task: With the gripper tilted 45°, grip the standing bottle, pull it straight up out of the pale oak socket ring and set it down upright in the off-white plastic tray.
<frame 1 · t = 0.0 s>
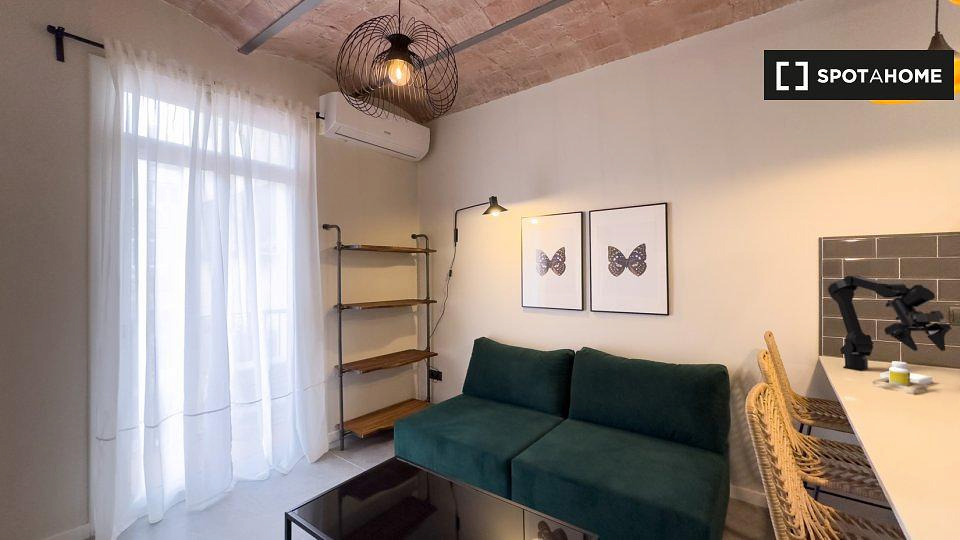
hand: (929, 350, 143), 15 cm above the table, tool tilted 35°, fingers open, 9 cm apart
plastic tray: (905, 381, 155), on the table
supplement bottle: (899, 388, 147), resting in oak socket ring
oak socket ring: (899, 388, 147), on the table
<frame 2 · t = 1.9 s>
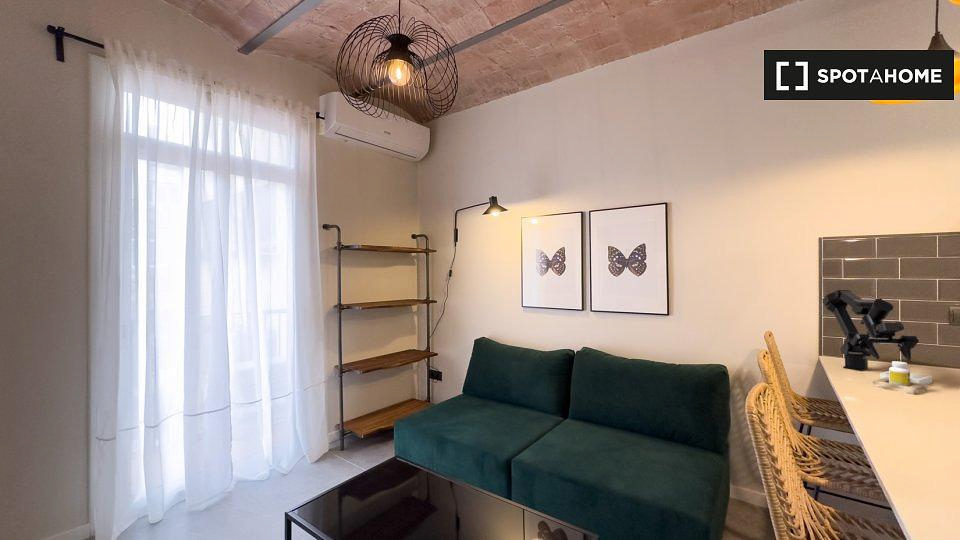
hand: (894, 359, 150), 10 cm above the table, tool tilted 45°, fingers open, 9 cm apart
nothing on the table moved.
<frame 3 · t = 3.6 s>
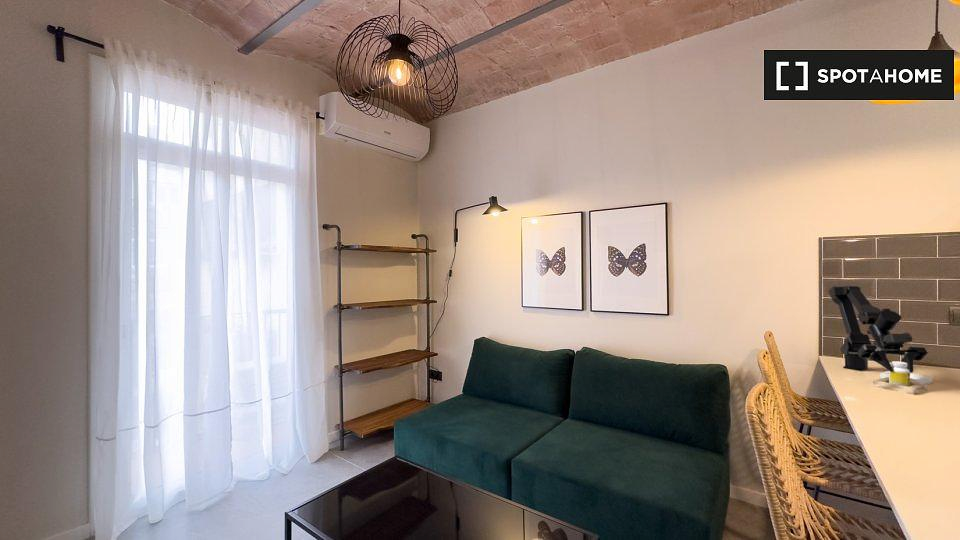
hand: (901, 371, 145), 7 cm above the table, tool tilted 45°, fingers closed on supplement bottle, 5 cm apart
supplement bottle: (899, 388, 147), resting in oak socket ring, touching gripper
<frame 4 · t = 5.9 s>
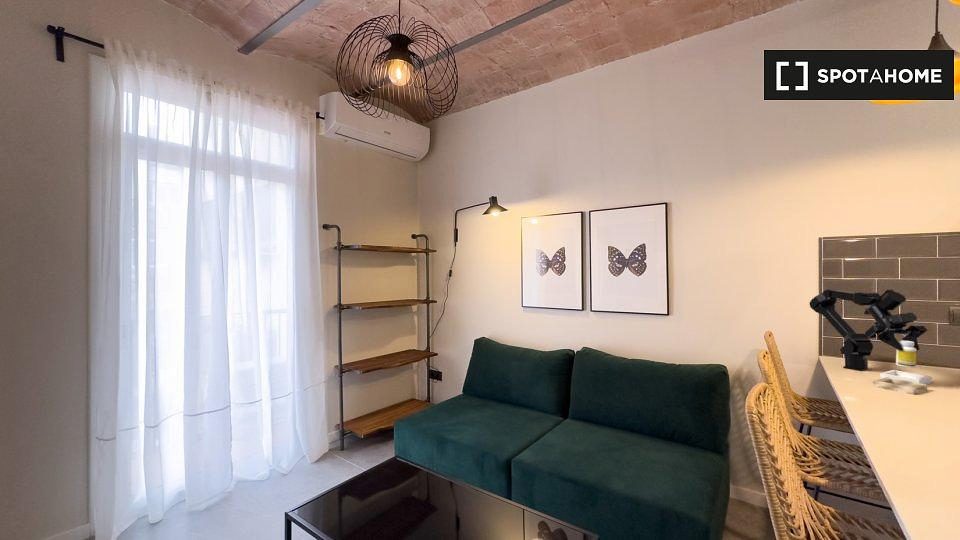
hand: (909, 350, 150), 13 cm above the table, tool tilted 45°, fingers closed on supplement bottle, 5 cm apart
supplement bottle: (905, 366, 152), point 7 cm above the table, touching gripper
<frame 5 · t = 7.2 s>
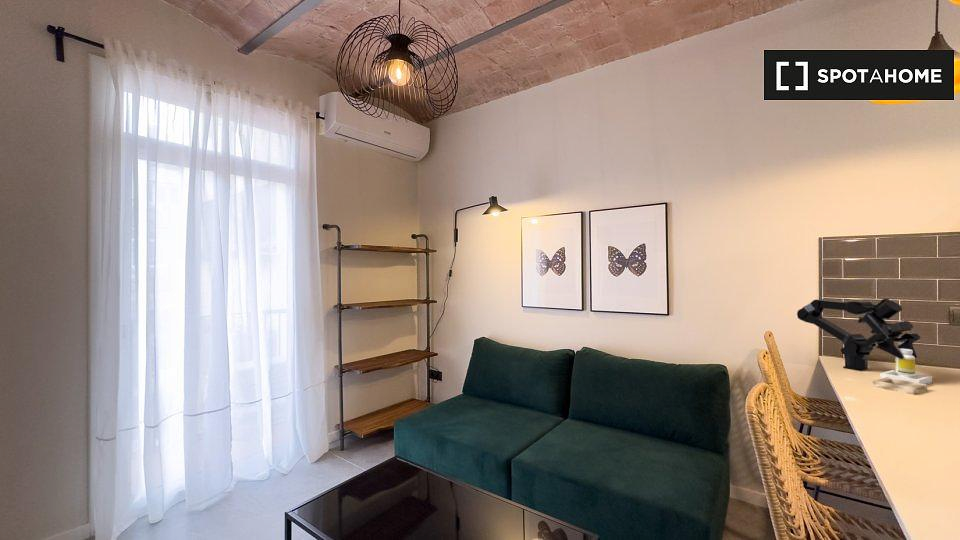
hand: (909, 358, 154), 10 cm above the table, tool tilted 45°, fingers closed on supplement bottle, 5 cm apart
supplement bottle: (904, 374, 155), point 3 cm above the table, touching gripper
when the fingers open (9 cm above the table, at t = 8.2 s): supplement bottle drops 1 cm, resting on plastic tray.
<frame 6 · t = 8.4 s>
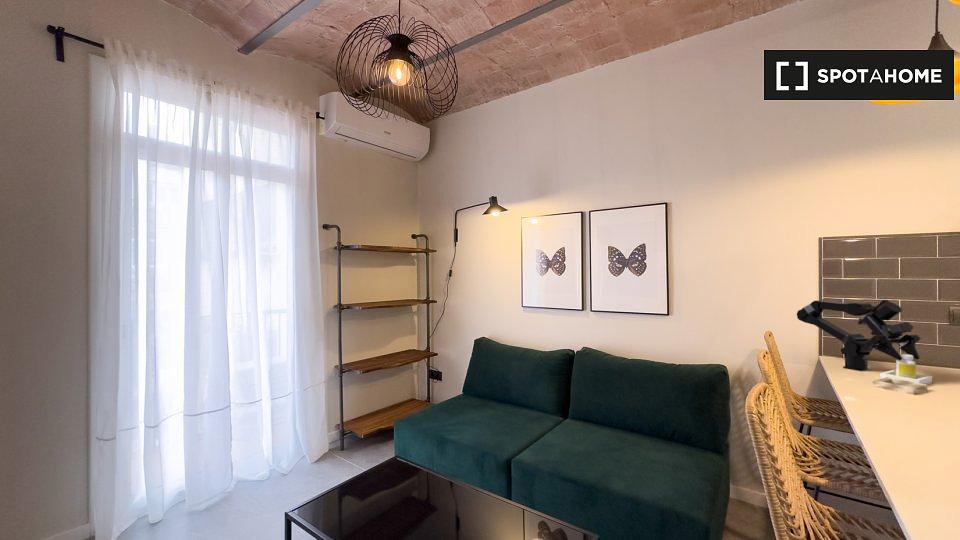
hand: (909, 359, 154), 9 cm above the table, tool tilted 45°, fingers open, 7 cm apart
supplement bottle: (905, 379, 155), resting on plastic tray
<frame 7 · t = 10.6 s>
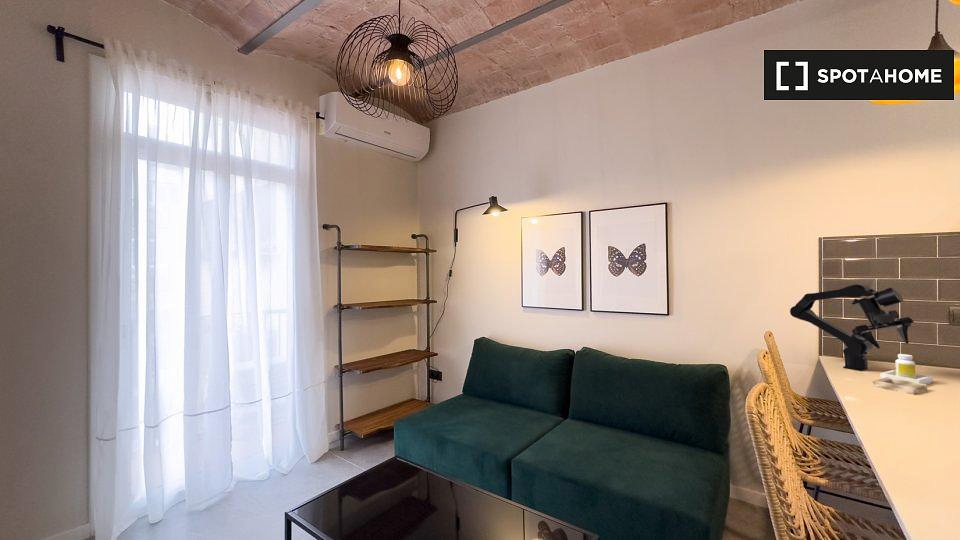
hand: (893, 346, 161), 13 cm above the table, tool tilted 25°, fingers open, 9 cm apart
nothing on the table moved.
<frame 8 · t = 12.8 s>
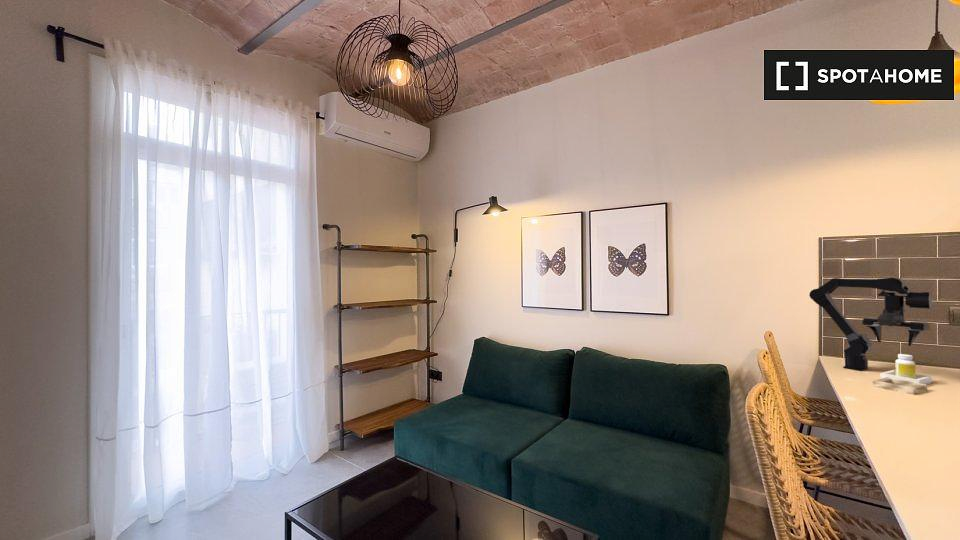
hand: (894, 344, 164), 13 cm above the table, tool pointing down, fingers open, 9 cm apart
nothing on the table moved.
at the end: supplement bottle 0.1 cm off-centre on the plastic tray, point 0.4 cm above the plastic tray's base; supplement bottle tilted 0°; the gripper is holding nothing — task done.
